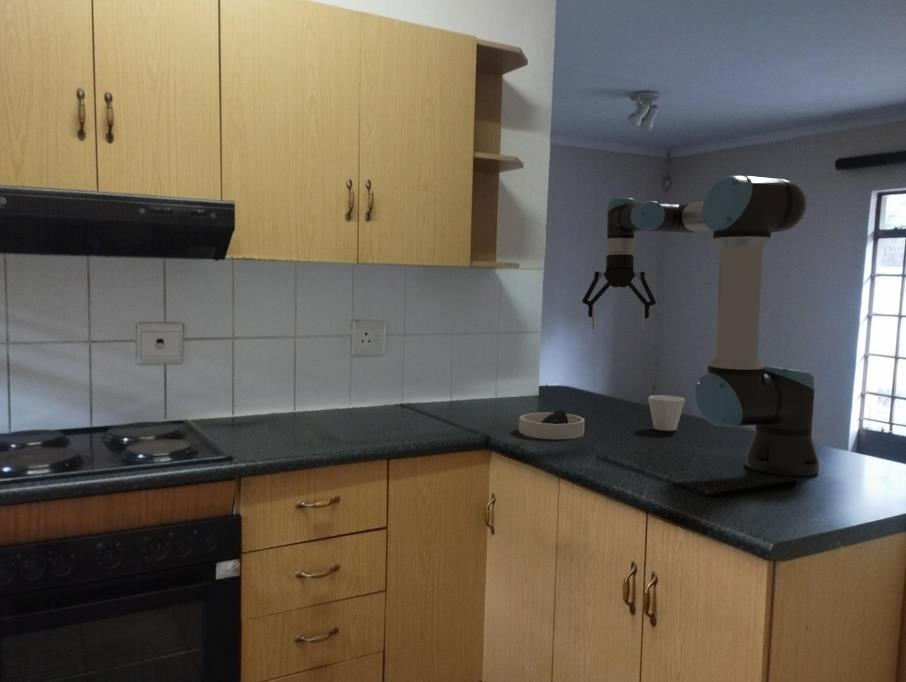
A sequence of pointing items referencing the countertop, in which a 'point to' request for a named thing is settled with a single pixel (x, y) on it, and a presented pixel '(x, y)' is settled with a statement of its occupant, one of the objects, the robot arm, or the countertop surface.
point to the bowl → (550, 427)
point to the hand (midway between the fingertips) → (617, 329)
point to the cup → (665, 411)
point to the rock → (556, 418)
